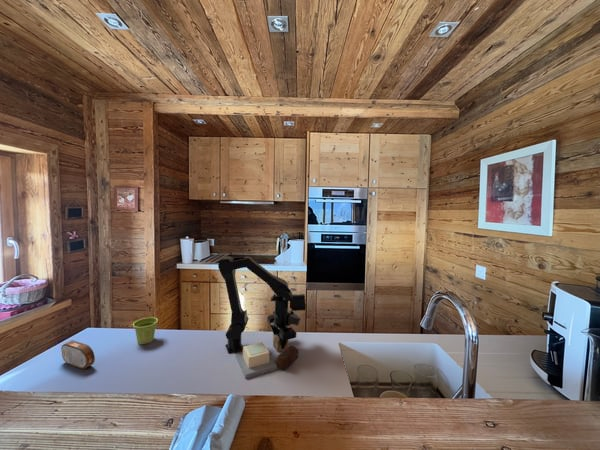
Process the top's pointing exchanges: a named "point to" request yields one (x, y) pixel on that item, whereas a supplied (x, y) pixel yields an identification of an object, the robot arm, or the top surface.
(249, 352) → the foundation
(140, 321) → the plant pot
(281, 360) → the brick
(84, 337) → the top surface
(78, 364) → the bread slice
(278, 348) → the tan cube
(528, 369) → the top surface
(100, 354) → the top surface
